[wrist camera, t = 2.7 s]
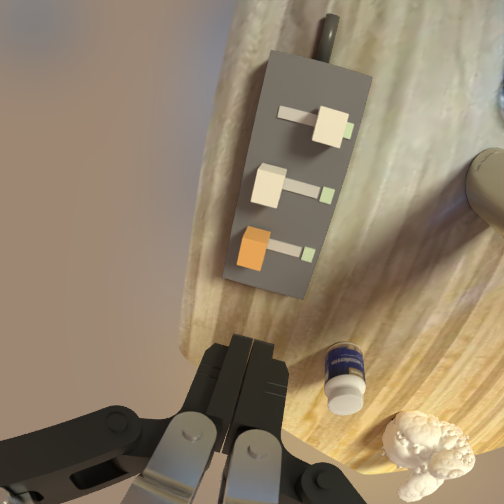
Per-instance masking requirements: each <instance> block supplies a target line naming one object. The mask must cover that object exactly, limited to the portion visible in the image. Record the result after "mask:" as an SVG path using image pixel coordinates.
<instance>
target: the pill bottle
mask: <svg viewBox="0 0 504 504" xmlns="http://www.w3.org/2000/svg"><path fill="white" fill-rule="evenodd" d="M365 388H366V383H365V373H364V363H363V354H362V351H361V349H360V347H359V346H357V345H356V344H354V343H351V342H341V343H337V344H335V345H333V346H331V347H330V348H329V349H328V350H327V352H326V355H325V385H324V391H325V394H326V396H327V397H328V409H329V410H330V411H331V412H332V413H334V414H337V415H350V414H354V413H356V412H358V411H359V410H360V409H361V408H362V406H363V394H364V392H365Z"/></svg>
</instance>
